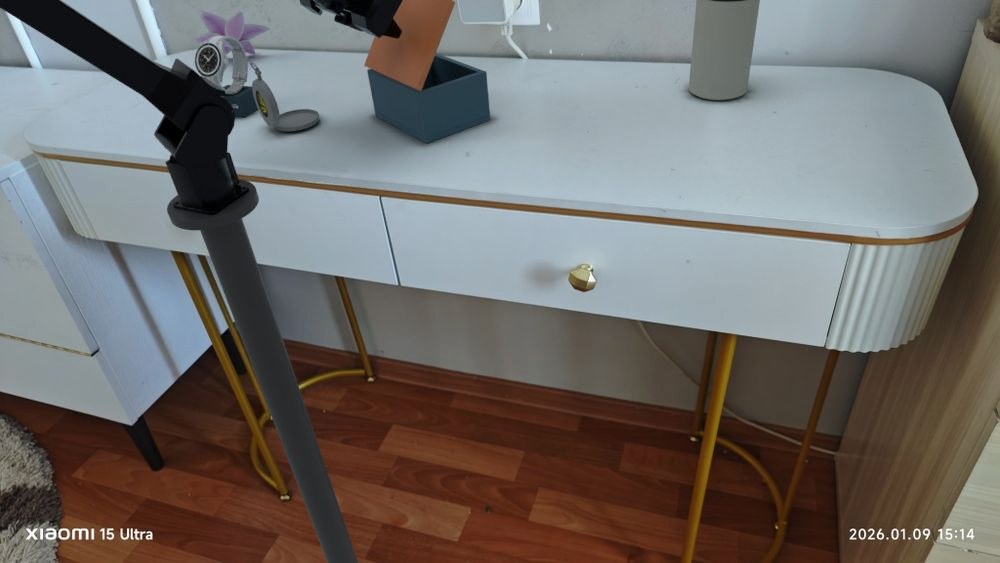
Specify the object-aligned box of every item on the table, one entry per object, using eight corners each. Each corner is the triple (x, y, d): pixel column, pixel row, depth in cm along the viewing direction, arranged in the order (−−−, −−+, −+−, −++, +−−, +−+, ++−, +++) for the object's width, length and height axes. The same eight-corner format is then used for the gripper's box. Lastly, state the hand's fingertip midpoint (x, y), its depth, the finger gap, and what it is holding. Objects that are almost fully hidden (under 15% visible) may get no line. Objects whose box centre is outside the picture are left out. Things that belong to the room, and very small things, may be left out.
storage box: (436, 95, 104) (430, 50, 100) (490, 120, 95) (486, 71, 91) (375, 116, 99) (366, 69, 95) (426, 143, 90) (419, 93, 86)
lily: (286, 61, 127) (269, 9, 126) (247, 55, 116) (227, -2, 115) (235, 82, 131) (217, 32, 130) (192, 79, 120) (172, 23, 118)
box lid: (398, -14, 93) (393, -16, 92) (455, 2, 84) (450, -1, 83) (368, 67, 95) (363, 65, 95) (421, 91, 86) (416, 89, 86)
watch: (206, 119, 103) (181, 45, 97) (240, 100, 109) (219, 29, 103) (237, 122, 101) (213, 47, 95) (269, 102, 107) (249, 30, 101)
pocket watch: (329, 116, 100) (313, 47, 95) (297, 141, 94) (278, 68, 88) (281, 113, 103) (263, 46, 97) (247, 136, 97) (226, 66, 91)
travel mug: (712, 106, 94) (728, -37, 83) (677, 88, 100) (687, -47, 89) (759, 93, 96) (780, -47, 85) (721, 77, 102) (737, -56, 91)
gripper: (375, -103, 70) (472, -11, 82) (298, -111, 83) (392, -31, 94) (322, -5, 71) (426, 72, 83) (254, -28, 84) (353, 42, 95)
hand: (399, 34), depth 89 cm, fingers closed
